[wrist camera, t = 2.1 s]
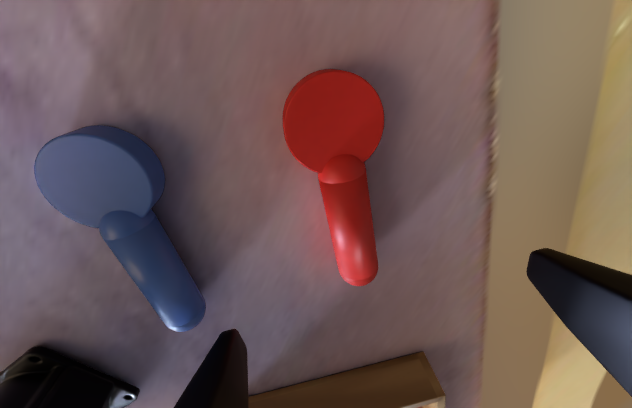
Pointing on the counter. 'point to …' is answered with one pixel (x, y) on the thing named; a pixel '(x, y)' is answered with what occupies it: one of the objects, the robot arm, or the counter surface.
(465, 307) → the counter surface
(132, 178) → the blue spoon
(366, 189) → the red spoon
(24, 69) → the counter surface
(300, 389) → the cutlery tray
